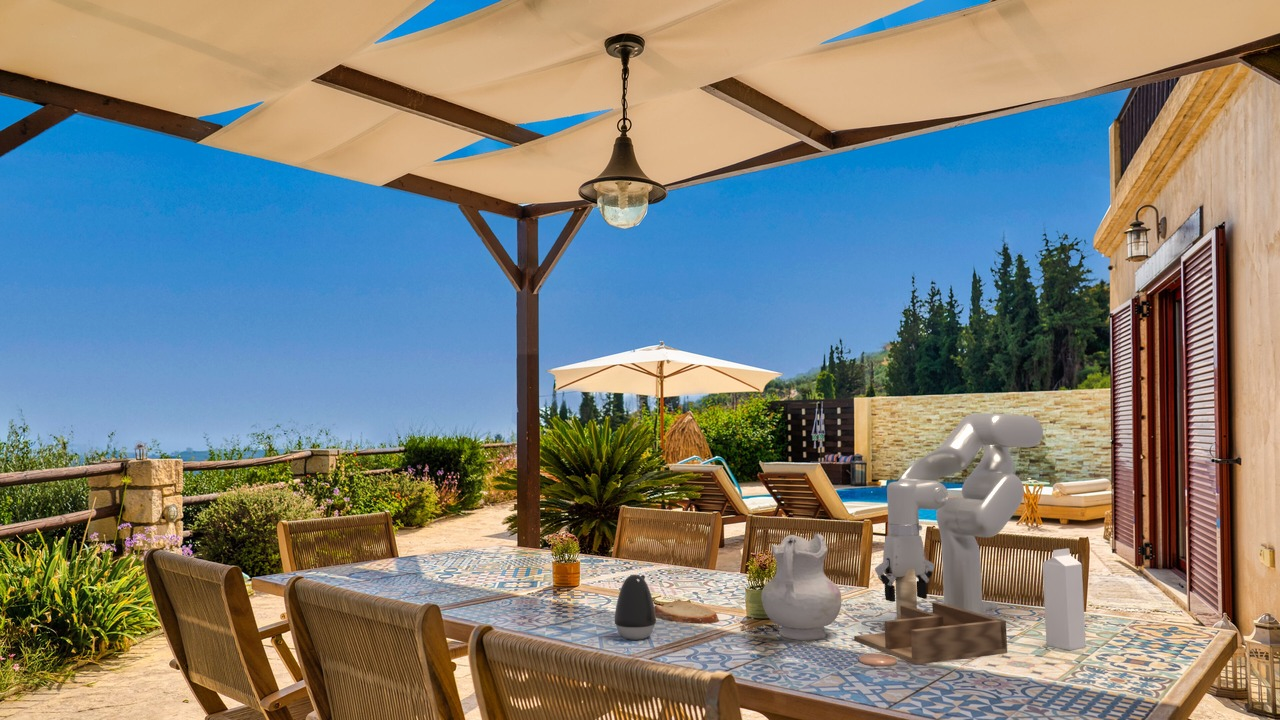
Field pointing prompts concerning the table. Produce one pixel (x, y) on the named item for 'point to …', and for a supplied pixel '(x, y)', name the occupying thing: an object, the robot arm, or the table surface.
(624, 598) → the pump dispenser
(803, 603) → the ceramic pitcher
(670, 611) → the bread slice
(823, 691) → the table surface
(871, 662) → the pad
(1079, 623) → the milk
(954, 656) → the channel board
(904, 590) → the beech peg
